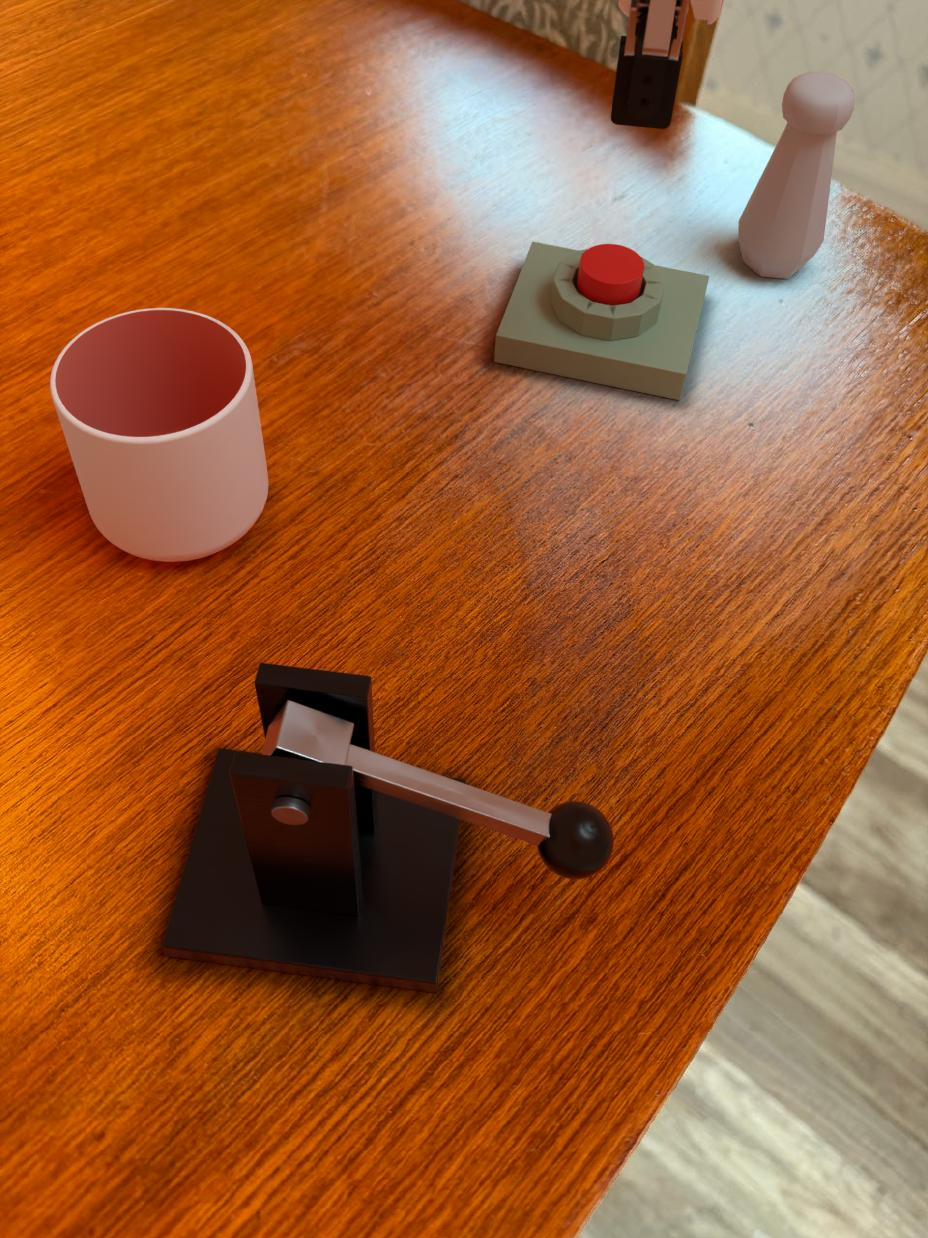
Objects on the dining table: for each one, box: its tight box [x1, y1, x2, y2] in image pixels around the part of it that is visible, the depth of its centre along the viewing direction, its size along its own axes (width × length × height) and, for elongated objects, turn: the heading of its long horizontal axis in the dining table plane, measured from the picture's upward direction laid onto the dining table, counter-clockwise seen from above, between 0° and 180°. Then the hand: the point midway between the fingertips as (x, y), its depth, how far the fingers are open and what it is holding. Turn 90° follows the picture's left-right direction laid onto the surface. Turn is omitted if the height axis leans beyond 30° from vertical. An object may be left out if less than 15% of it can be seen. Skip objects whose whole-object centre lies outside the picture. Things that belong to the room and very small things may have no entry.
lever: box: [261, 700, 615, 880], centre depth 48 cm, size 15×3×3 cm, turn 83°
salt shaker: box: [737, 70, 856, 280], centre depth 78 cm, size 6×6×13 cm
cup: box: [49, 307, 269, 563], centre depth 64 cm, size 10×10×10 cm
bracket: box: [161, 662, 467, 993], centre depth 50 cm, size 12×10×13 cm
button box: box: [493, 241, 710, 401], centre depth 77 cm, size 12×10×4 cm
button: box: [577, 243, 644, 306], centre depth 75 cm, size 4×4×2 cm
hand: (640, 117), depth 65 cm, fingers closed
